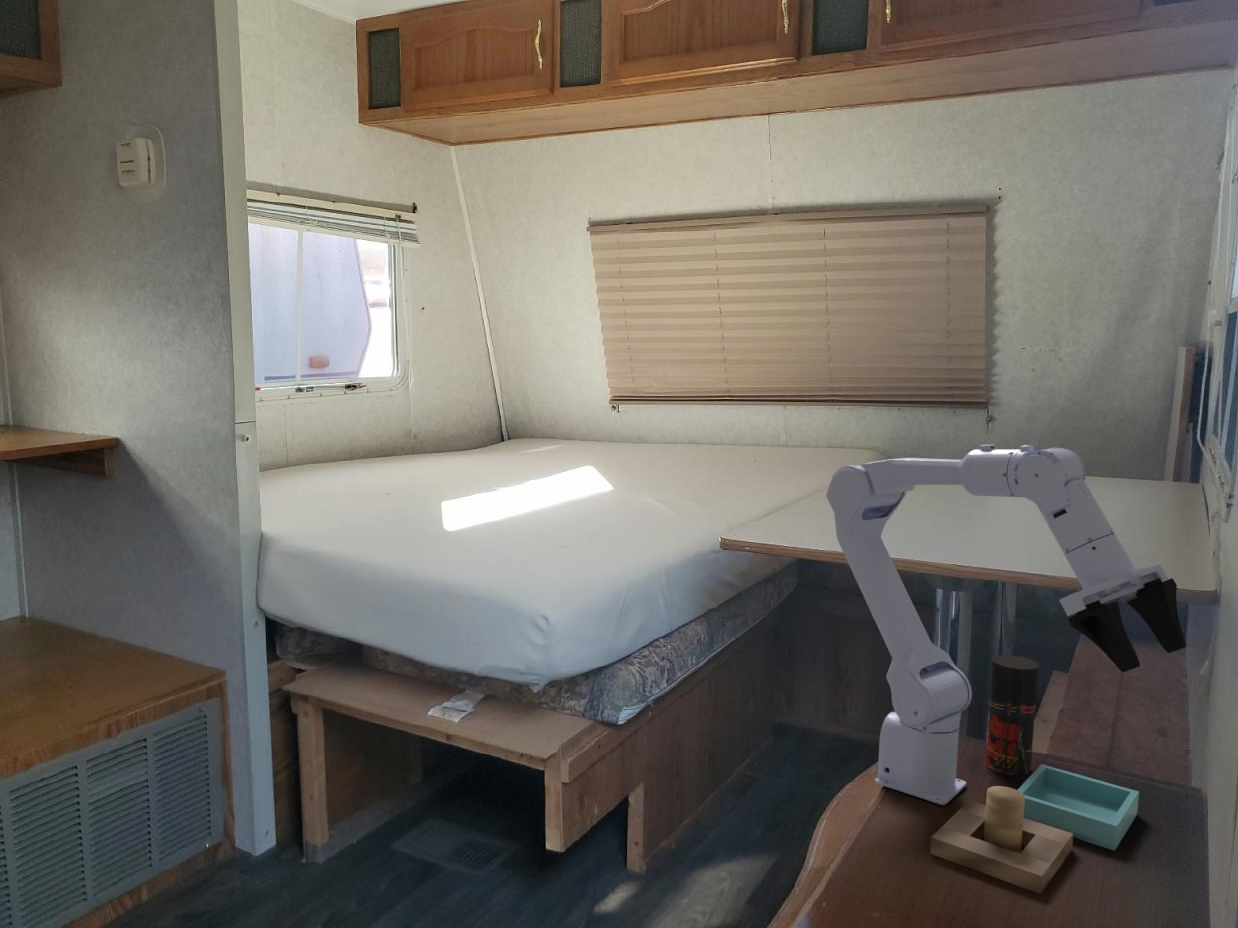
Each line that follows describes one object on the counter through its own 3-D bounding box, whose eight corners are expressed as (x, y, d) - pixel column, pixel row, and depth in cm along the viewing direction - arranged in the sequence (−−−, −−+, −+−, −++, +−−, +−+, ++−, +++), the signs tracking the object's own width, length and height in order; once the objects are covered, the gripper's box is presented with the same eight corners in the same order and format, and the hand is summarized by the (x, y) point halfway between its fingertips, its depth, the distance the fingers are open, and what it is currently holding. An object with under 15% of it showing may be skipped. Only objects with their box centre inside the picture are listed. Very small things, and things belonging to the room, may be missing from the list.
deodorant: (978, 756, 134) (985, 654, 132) (1020, 757, 134) (1028, 655, 132) (993, 774, 128) (1001, 668, 126) (1037, 776, 128) (1046, 669, 126)
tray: (1011, 817, 116) (1013, 794, 116) (1039, 785, 125) (1041, 763, 125) (1114, 850, 109) (1116, 826, 108) (1137, 814, 118) (1139, 791, 117)
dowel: (977, 852, 108) (982, 794, 107) (989, 839, 111) (993, 782, 110) (1013, 865, 105) (1018, 805, 104) (1025, 851, 108) (1029, 793, 107)
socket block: (930, 853, 107) (931, 836, 107) (968, 815, 116) (969, 800, 116) (1040, 893, 100) (1042, 876, 99) (1071, 849, 109) (1073, 833, 109)
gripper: (1070, 546, 99) (1138, 668, 94) (1159, 517, 105) (1228, 630, 101) (1025, 569, 105) (1088, 685, 100) (1112, 540, 111) (1175, 649, 106)
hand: (1154, 659), depth 101 cm, fingers open, 7 cm apart
